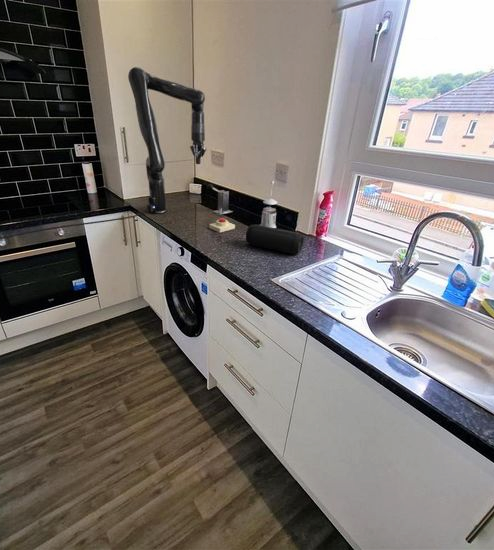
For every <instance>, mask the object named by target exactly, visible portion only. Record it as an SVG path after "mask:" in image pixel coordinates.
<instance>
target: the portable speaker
mask: <svg viewBox="0 0 494 550" xmlns="http://www.w3.org/2000/svg"><path fill="white" fill-rule="evenodd" d="M304 240H305V236H304V234H303V235H302V234H301V233H300V232H296V231H291V230H286V229H281V228H277V227H276V228H272V227H267V226H262V225H260V224H250V225H249V226H248V228H247V229H246V232H245V241H246V243H248V244H250V245H251V246H254V247H259V248H263V249H267V250H270V251H271V250H272V251H277V252H280V253H285V254H289V255H298V254H300V253H301V251H302V248H303V245H304V242H305V241H304Z"/></svg>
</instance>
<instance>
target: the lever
mask: <svg viewBox="0 0 494 550" xmlns="http://www.w3.org/2000/svg"><path fill="white" fill-rule="evenodd" d="M207 189H208V190H213V191H215V192H217V193H218V192H219V193H220V195H221V196H222V194H223V191H222V192H221V190H219V189H217V188H216V187H214V185H213V184H212V183H209V184H207Z"/></svg>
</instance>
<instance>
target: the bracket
mask: <svg viewBox="0 0 494 550" xmlns="http://www.w3.org/2000/svg"><path fill="white" fill-rule="evenodd" d="M220 191H221V192H222V191H223V194H222V196H221V195H220V193H219V192H217V210H212V212H214V213H216V214H218V215H225V214H230V213H233V212H234V211H233V210H230V209H229V199H230V198H229V197H230V191H228V190H227V191H225V190H224V189H222V190H220Z"/></svg>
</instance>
